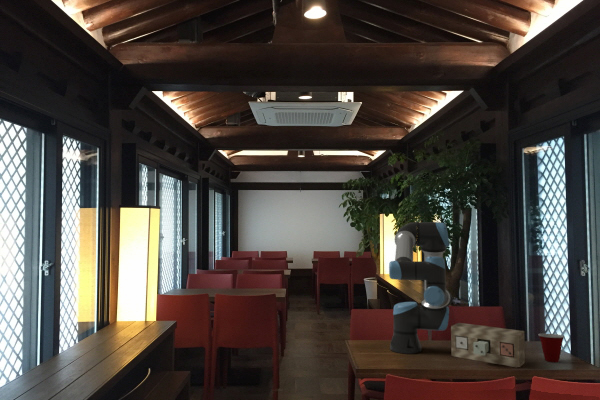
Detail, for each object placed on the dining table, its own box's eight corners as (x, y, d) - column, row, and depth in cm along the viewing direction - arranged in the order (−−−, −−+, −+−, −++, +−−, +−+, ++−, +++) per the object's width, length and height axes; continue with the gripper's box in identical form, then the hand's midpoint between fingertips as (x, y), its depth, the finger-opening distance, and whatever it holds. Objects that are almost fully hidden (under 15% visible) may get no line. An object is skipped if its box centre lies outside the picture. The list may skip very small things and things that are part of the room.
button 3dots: (500, 354, 208) (500, 343, 208) (505, 350, 215) (505, 339, 215) (512, 356, 205) (512, 345, 205) (517, 352, 211) (517, 341, 212)
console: (451, 356, 222) (451, 326, 223) (459, 351, 230) (458, 322, 231) (519, 367, 204) (518, 335, 204) (524, 362, 212) (524, 331, 213)
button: (456, 347, 220) (455, 336, 221) (462, 344, 227) (461, 333, 227) (466, 349, 217) (466, 338, 217) (472, 345, 224) (472, 335, 224)
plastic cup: (560, 358, 219) (559, 332, 220) (568, 364, 209) (567, 337, 209) (535, 356, 221) (534, 331, 222) (542, 363, 211) (541, 336, 212)
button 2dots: (473, 353, 209) (473, 342, 209) (479, 350, 216) (478, 339, 216) (484, 355, 206) (484, 344, 206) (490, 351, 213) (490, 340, 213)
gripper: (424, 302, 196) (437, 304, 216) (455, 310, 190) (466, 311, 210) (427, 285, 197) (440, 288, 217) (459, 292, 191) (468, 295, 211)
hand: (452, 300), depth 213 cm, fingers closed
